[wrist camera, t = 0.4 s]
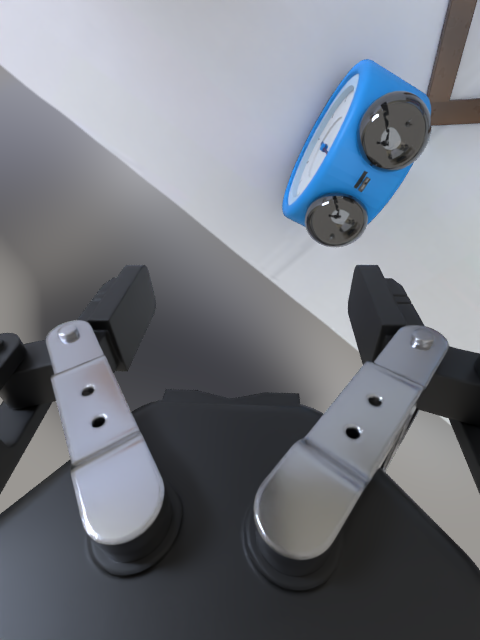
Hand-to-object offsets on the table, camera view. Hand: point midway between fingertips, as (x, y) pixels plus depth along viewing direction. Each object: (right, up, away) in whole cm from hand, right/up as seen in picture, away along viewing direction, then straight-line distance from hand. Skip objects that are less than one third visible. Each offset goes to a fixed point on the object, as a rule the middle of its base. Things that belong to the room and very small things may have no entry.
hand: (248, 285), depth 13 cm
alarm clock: (+10, +17, +22) cm, 29 cm away
